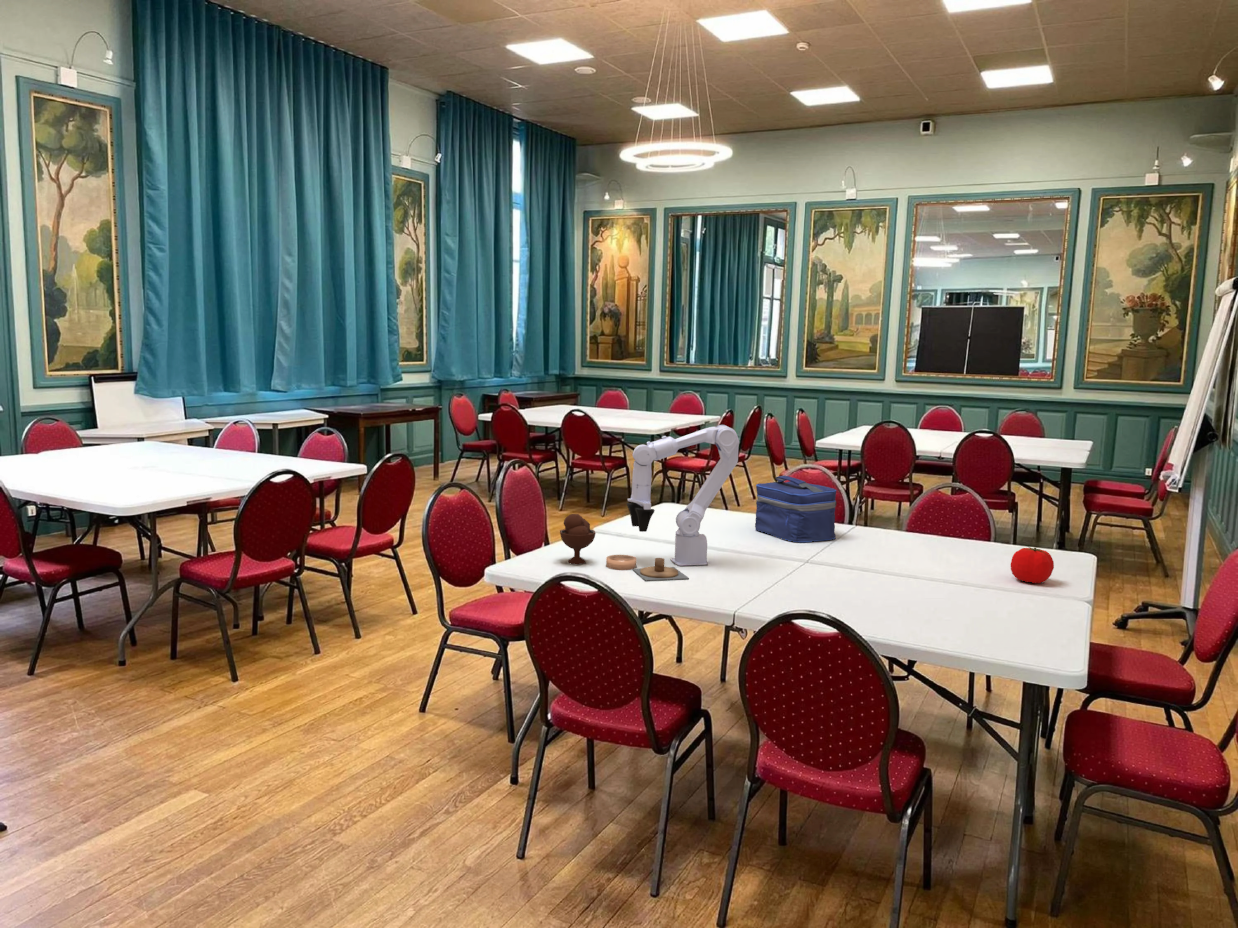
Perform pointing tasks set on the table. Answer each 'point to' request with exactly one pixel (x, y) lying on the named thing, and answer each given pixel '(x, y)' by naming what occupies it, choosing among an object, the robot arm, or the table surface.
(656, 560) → the lid
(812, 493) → the lunch bag
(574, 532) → the ice cream bowl
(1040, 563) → the tomato
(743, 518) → the table surface
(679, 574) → the mat
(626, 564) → the dish
